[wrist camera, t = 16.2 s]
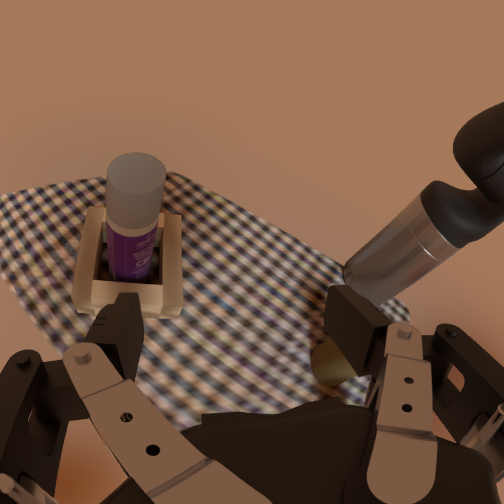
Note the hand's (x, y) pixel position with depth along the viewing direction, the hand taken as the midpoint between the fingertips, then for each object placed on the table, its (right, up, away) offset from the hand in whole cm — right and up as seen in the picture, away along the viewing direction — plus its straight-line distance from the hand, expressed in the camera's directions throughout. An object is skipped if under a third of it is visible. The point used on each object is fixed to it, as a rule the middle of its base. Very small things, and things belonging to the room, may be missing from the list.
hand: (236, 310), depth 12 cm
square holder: (-13, 0, +19) cm, 23 cm away
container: (-13, 0, +19) cm, 23 cm away
